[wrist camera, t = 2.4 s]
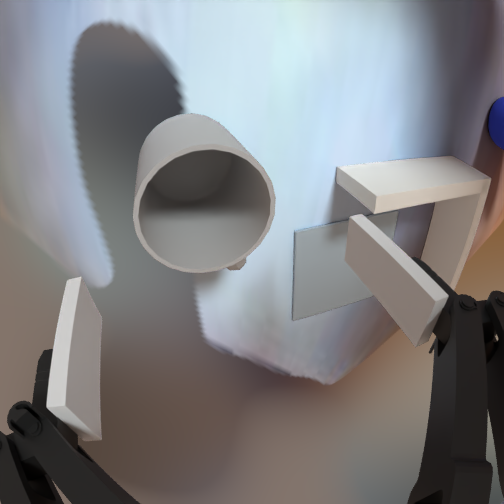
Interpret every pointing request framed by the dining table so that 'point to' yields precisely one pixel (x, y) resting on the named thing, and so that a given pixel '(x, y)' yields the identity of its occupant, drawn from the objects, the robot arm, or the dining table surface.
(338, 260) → the pad
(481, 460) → the robot arm
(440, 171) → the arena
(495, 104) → the mug
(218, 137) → the cup
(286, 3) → the dining table surface
